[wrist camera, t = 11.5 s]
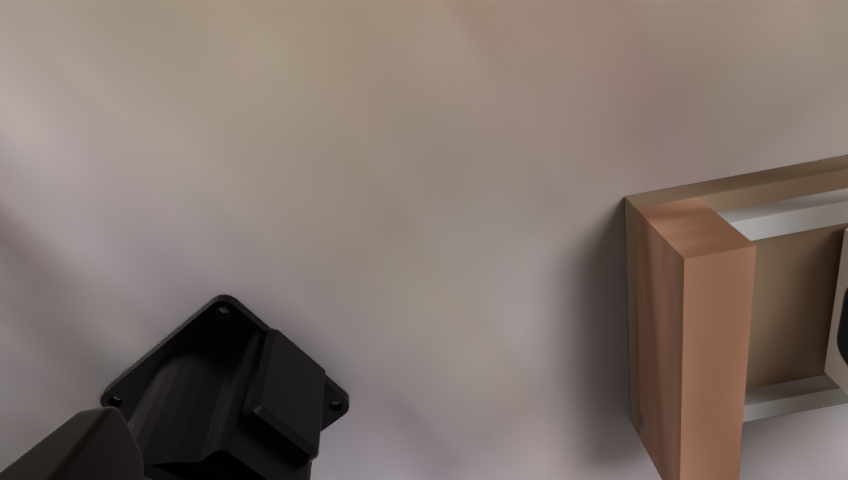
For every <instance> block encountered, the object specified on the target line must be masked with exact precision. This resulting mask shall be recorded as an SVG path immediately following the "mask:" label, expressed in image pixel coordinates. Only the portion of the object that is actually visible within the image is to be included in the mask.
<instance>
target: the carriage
mask: <svg viewBox="0 0 848 480" xmlns="http://www.w3.org/2000/svg"><path fill="white" fill-rule="evenodd" d="M847 287H848V229H845V231H844V238H843V245H842V252H841V259H840V266H839V273H838V280H837V286H836V293H835V300H834V307H833V314H832V321H831V328H830V335H829V341H828V348H827V355H826V362H825V369H824V372H825V373H826V374H827V375H828V376H829V377H830V378H831V379H832V380H833V381H834V382H835V383H836V384H837V385H838V386H839V387H840V388H841V389H842V390H843V391H844V392H845V393H846V394H847V395H848V366H847V365H846V363H845V362H844V360H843V359H842V357H841V355H840V352H839V350H838V346H837V331H838V325H839V320H840V314H841V309H842V303H843V298H844V293H845V290H846V289H847Z"/></svg>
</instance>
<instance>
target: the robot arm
mask: <svg viewBox="0 0 848 480" xmlns="http://www.w3.org/2000/svg"><path fill="white" fill-rule="evenodd" d="M220 307H226V308H227V309H229V310H230V313H222V312H220V310H219V309H218V308H220ZM837 346H838V350H839V352H840V355H841V357H842V359H843V360H844V362H845V363H846V365H847V366H848V287H847V289H846V290H845V293H844V298H843V303H842V309H841V314H840V320H839V325H838V331H837ZM113 397H119V398H120V399H121V400H116V399H114V398H113ZM333 401H338V402H340V404H338V405H334V404H332V403H331V402H333ZM101 404H102V406H103V407H102V408H96V409H90V410H85V411H81V412H79V413H77V414H76V415H74V416H73V417H72V418H71V419H69V420H68V421H67V422H65V423H64V424H63V425H62V426H60V427H59V428H58V429H56V430H55V431H54V432H52V433H51V434H50V435H49V436H47V437H46V438H45V439H43V440H42V441H41V442H40V443H38V444H37V445H36V446H34V447H33V448H32V449H31V450H29V451H28V452H27V453H25V454H24V455H23V456H21V457H20V458H19V459H18V460H16V461H15V462H14V463H12V464H11V465H10V466H9V467H7V468H6V469H5V470H3V471H2V472H1V473H0V480H310V476H311V466H312V460H314V459H315V458H316V457H317V456H318V454H319V442H320V432H321V431H322V430H324V429H325V428H327V427H328V426H329V425H331V424H332V423H333V422H335V421H336V420H338V419H339V418H340V417H342V416H343V415H344V414H346V412H347V411H348V409H349V395H348V394H347V393H346V392H345V391H344V390H343V389H342V388H341V387H339V386H338V385H337V384H336V383H335V382H333V381H332V380H331V379H330V378H329V377H328V376H326V375H325V370H324V369H323V368H322V367H321V366H320V365H318V364H317V363H316V362H315V361H314V360H313V359H311V358H310V357H309V356H308V355H307V354H305V353H304V352H303V351H302V350H301V349H300V348H298V347H297V346H296V345H295V344H294V343H293V342H291V341H290V340H289V339H288V338H287V337H286V336H284V335H283V334H282V333H281V332H280V331H278V330H276V329H271V328H270V327H269V326H267V325H266V324H265V323H264V322H263V321H262V320H260V319H259V318H258V317H257V316H256V315H254V314H253V313H252V312H251V311H250V310H249V309H247V308H246V307H245V306H244V305H243V304H241V303H240V302H239V301H238V300H237V299H235V298H234V297H232V296H229V295H219V296H217V297H215V298H214V299H213V300H211V301H210V302H209V303H208V304H207V305H205V306H204V307H203V308H202V309H201V310H199V311H198V312H197V313H196V314H195V315H193V316H192V317H191V318H190V319H189V320H187V321H186V322H185V323H184V324H183V325H181V326H180V327H179V328H178V329H176V330H175V331H174V332H173V333H172V334H170V335H169V336H168V337H167V338H166V339H164V340H163V341H162V342H161V343H160V344H158V345H157V346H156V347H155V348H154V349H152V350H151V351H150V352H149V353H148V354H146V355H145V356H144V357H143V358H142V359H140V360H139V361H138V362H137V363H136V364H134V365H133V366H132V367H131V368H130V369H128V370H127V371H126V372H125V373H124V374H122V375H121V376H120V377H119V378H118V379H116V380H115V381H114V382H113V383H112V384H110V385H109V386H108V387H107V388H106V390H105V391H104V393H103V395H102V397H101Z"/></svg>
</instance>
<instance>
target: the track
mask: <svg viewBox="0 0 848 480" xmlns="http://www.w3.org/2000/svg"><path fill="white" fill-rule="evenodd" d="M625 224H626V260H627V297H628V334H629V371H630V408H631V422H632V424H633V426H634V428H635V430H636V431H637V433H638V435H639V437H640V439H641V441H642V443H643V444H644V446H645V448H646V450H647V452H648V454H649V456H650V458H651V459H652V461H653V463H654V465H655V467H656V469H657V471H658V473H659V474H660V476H661V478H662V480H738V479H739V466H740V453H741V440H742V427H743V422H747V421H753V420H758V419H763V418H769V417H774V416H779V415H785V414H790V413H795V412H801V411H806V410H811V409H817V408H822V407H828V406H833V405H838V404H844V403H848V395H847V394H846V393H845V392H844V391H843V390H842V389H841V388H840V387H839V386H838V385H837V384H836V383H835V382H834V381H833V380H832V379H831V378H830V377H829V376H828V375H827V374H826V373H825V372H824V369H825V362H826V355H827V348H828V341H829V335H830V328H831V321H832V314H833V307H834V300H835V293H836V286H837V280H838V273H839V266H840V259H841V252H842V245H843V238H844V231H845V229H848V155H845V156H840V157H834V158H829V159H824V160H818V161H813V162H808V163H802V164H797V165H792V166H786V167H781V168H776V169H770V170H765V171H760V172H754V173H749V174H744V175H738V176H733V177H728V178H722V179H717V180H711V181H706V182H701V183H695V184H690V185H685V186H679V187H674V188H669V189H663V190H658V191H653V192H647V193H642V194H637V195H631V196H626V197H625Z"/></svg>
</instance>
